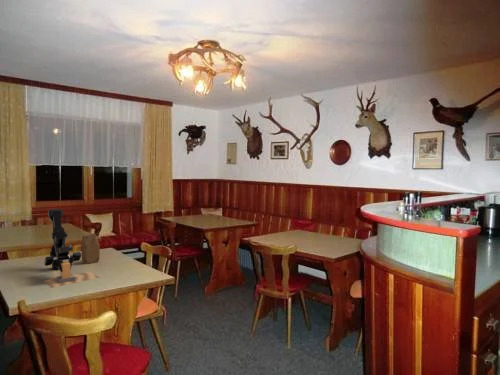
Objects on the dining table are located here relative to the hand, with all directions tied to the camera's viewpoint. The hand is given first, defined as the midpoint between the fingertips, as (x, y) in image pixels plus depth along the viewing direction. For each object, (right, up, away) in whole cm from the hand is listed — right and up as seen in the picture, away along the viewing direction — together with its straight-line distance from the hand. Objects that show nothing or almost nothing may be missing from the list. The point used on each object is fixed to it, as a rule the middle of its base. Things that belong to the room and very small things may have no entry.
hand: (66, 271), depth 204 cm
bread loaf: (-5, -4, +43) cm, 44 cm away
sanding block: (-1, -6, +1) cm, 6 cm away
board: (+1, -7, +4) cm, 8 cm away
